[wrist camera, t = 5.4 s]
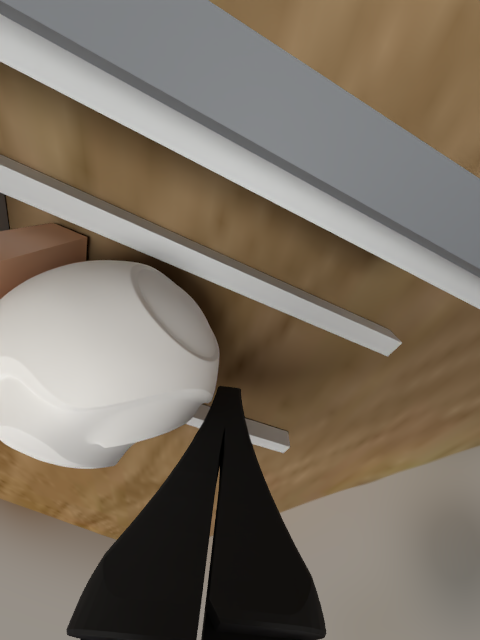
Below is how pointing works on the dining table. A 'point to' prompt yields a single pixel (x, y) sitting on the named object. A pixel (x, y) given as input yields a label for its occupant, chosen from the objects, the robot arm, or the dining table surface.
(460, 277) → the rail mount
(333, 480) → the dining table surface
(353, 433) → the dining table surface
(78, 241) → the tan rectangular box
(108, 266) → the white rounded piece
